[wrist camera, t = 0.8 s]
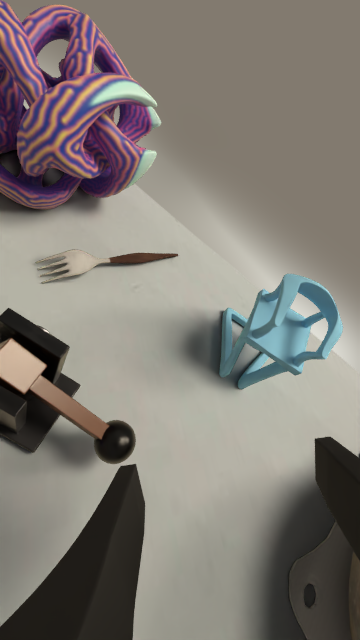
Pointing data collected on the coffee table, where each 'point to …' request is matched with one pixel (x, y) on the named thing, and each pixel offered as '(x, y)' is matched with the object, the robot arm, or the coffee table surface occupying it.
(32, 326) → the bracket
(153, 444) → the coffee table surface
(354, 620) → the bowl
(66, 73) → the sculpture
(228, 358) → the chair
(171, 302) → the coffee table surface
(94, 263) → the fork
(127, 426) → the lever
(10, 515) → the coffee table surface
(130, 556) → the robot arm
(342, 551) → the cleaver
